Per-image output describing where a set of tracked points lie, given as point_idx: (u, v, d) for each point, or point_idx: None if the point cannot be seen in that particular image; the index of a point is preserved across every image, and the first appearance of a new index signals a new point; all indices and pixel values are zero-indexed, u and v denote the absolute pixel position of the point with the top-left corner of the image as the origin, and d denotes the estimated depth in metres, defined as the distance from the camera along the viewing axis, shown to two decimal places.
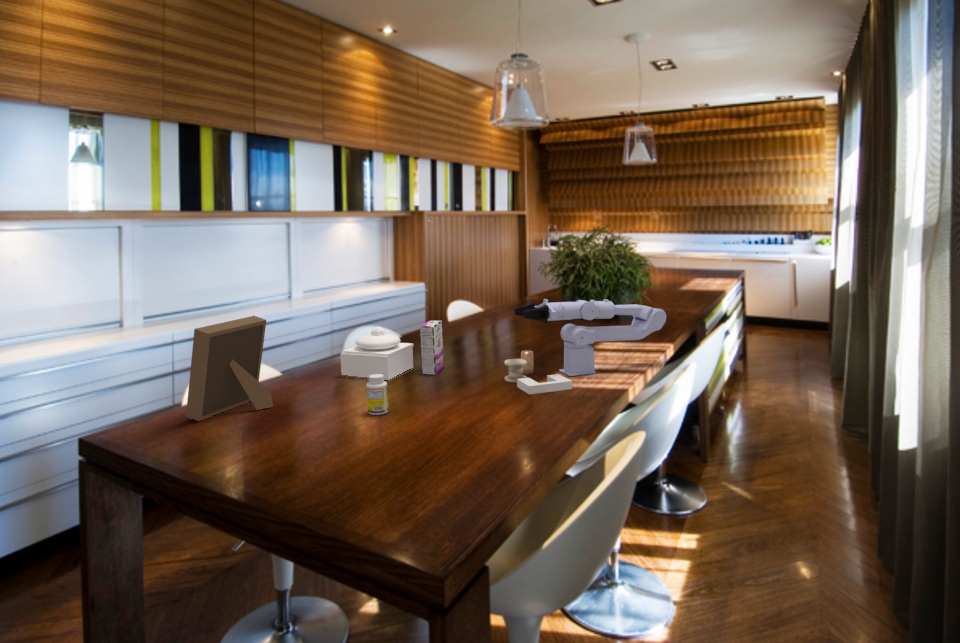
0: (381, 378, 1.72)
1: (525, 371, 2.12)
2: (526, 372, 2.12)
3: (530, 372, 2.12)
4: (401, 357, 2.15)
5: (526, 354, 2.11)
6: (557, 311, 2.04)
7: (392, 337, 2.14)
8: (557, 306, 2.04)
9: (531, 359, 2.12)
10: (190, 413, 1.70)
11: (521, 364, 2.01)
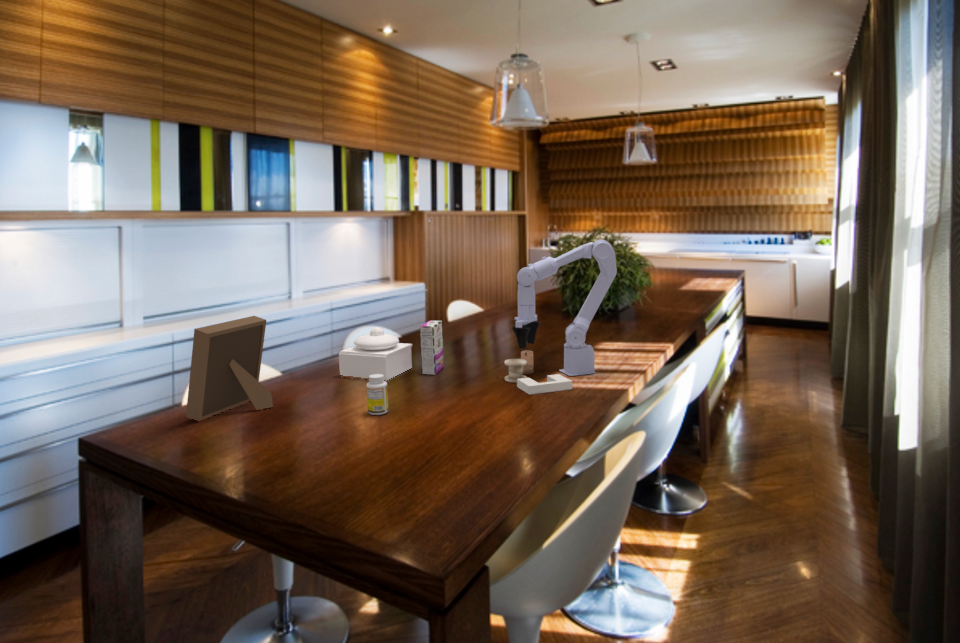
0: (381, 378, 1.72)
1: (525, 371, 2.12)
2: (526, 372, 2.12)
3: (530, 372, 2.12)
4: (399, 357, 2.14)
5: (526, 354, 2.11)
6: (522, 311, 2.08)
7: (391, 337, 2.14)
8: (518, 310, 2.09)
9: (531, 359, 2.12)
10: (190, 413, 1.70)
11: (521, 364, 2.01)
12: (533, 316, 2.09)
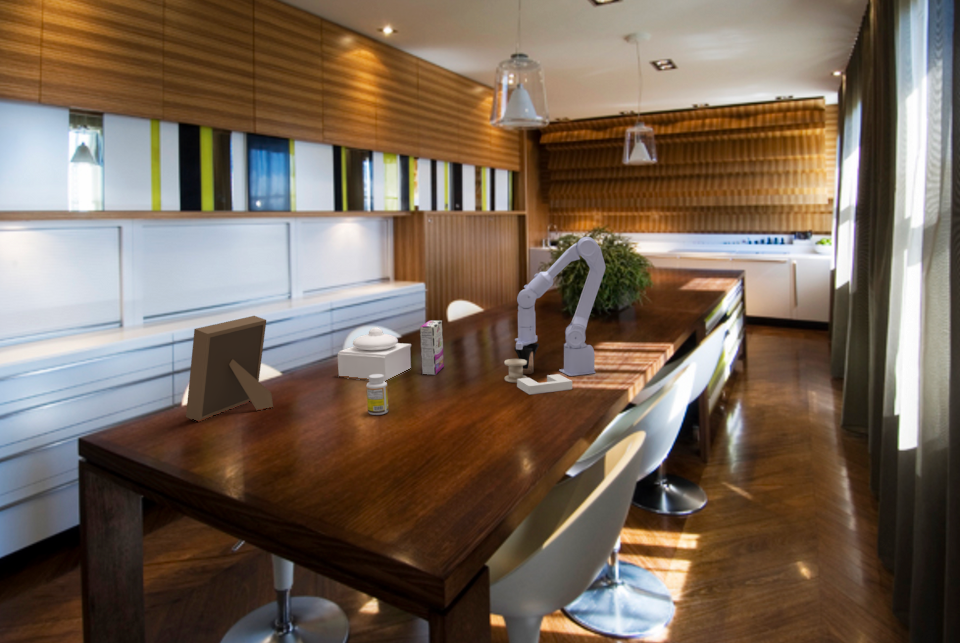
0: (381, 378, 1.72)
1: (525, 371, 2.12)
2: (526, 372, 2.12)
3: (530, 372, 2.12)
4: (398, 357, 2.14)
5: None
6: (522, 333, 2.09)
7: (389, 338, 2.13)
8: (519, 331, 2.11)
9: (531, 359, 2.12)
10: (190, 413, 1.70)
11: (521, 364, 2.01)
12: (533, 338, 2.10)
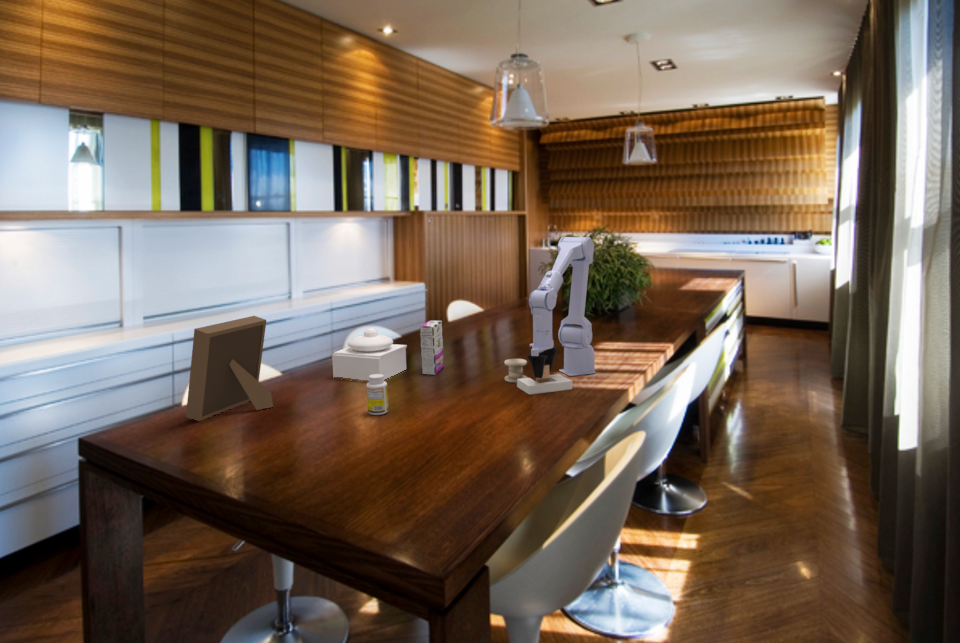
0: (381, 378, 1.72)
1: None
2: None
3: None
4: (393, 359, 2.12)
5: None
6: (538, 338, 1.91)
7: (384, 339, 2.12)
8: (534, 336, 1.92)
9: (547, 373, 1.94)
10: (190, 413, 1.70)
11: (521, 364, 2.01)
12: (550, 343, 1.92)
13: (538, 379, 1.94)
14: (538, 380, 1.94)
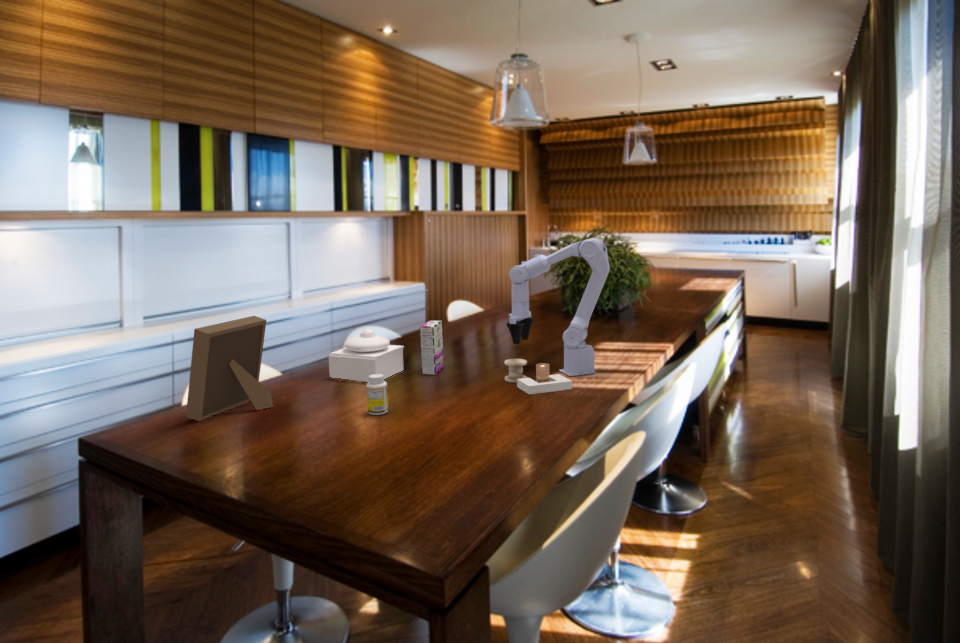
0: (381, 378, 1.72)
1: None
2: None
3: None
4: (389, 359, 2.11)
5: (542, 367, 1.93)
6: (516, 308, 2.13)
7: (381, 339, 2.11)
8: (512, 306, 2.14)
9: (547, 373, 1.94)
10: (190, 413, 1.70)
11: (521, 364, 2.01)
12: (527, 312, 2.14)
13: (538, 379, 1.94)
14: (538, 380, 1.94)
